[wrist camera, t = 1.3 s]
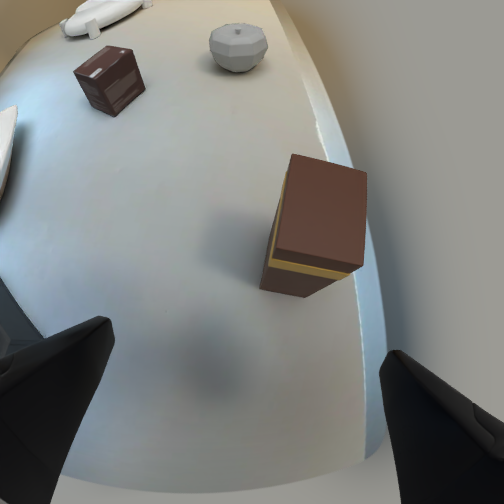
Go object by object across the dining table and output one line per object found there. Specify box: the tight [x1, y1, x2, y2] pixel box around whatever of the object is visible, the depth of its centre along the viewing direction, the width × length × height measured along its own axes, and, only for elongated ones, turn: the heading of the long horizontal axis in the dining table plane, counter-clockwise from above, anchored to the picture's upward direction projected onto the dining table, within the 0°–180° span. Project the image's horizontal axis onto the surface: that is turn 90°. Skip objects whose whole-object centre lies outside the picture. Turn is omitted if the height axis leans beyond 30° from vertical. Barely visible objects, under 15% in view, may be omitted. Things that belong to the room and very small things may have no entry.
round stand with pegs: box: [59, 0, 152, 39], centre depth 35 cm, size 24×24×7 cm
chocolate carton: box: [260, 154, 367, 298], centre depth 18 cm, size 5×4×12 cm
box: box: [73, 46, 145, 117], centre depth 26 cm, size 6×6×7 cm
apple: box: [209, 23, 268, 72], centre depth 28 cm, size 8×8×7 cm
